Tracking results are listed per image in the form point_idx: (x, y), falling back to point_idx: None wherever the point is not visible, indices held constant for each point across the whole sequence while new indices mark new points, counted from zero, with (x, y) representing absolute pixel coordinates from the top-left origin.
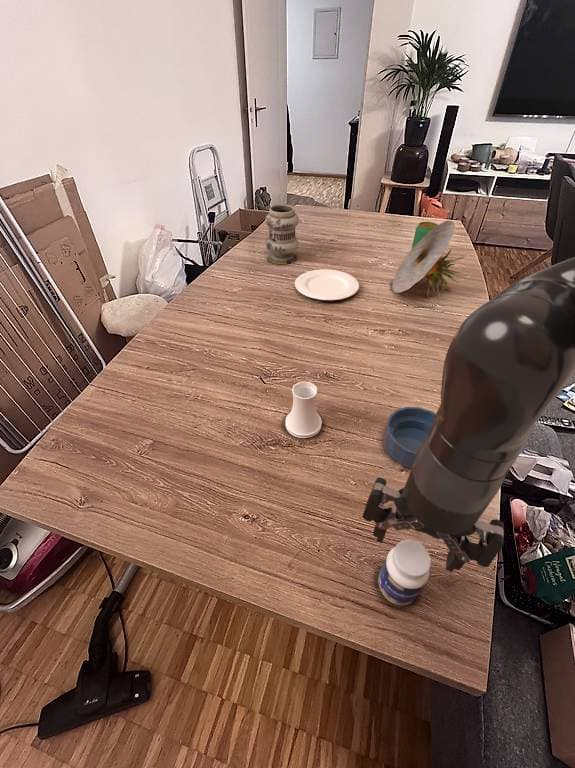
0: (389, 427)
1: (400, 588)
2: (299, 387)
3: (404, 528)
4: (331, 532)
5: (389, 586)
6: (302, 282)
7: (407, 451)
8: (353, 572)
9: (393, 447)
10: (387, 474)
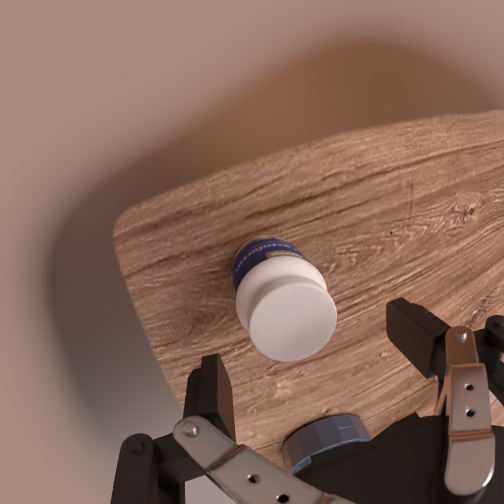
0: None
1: (273, 253)
2: (490, 395)
3: (456, 397)
4: (386, 270)
5: (287, 247)
6: None
7: (341, 441)
8: (334, 238)
9: (356, 430)
10: (343, 395)
